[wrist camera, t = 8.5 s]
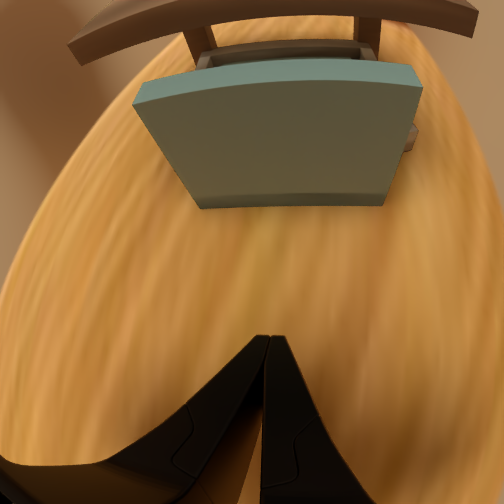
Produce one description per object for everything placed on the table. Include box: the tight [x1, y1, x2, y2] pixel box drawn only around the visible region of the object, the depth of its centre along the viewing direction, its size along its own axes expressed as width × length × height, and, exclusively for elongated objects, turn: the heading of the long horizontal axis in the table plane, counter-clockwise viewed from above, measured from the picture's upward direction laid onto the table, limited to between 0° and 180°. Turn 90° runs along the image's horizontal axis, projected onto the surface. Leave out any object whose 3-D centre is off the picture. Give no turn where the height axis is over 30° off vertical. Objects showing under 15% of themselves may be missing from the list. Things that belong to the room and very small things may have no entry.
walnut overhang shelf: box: [67, 0, 479, 152], centre depth 15 cm, size 16×17×12 cm
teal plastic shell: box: [132, 57, 423, 209], centre depth 16 cm, size 14×11×9 cm
